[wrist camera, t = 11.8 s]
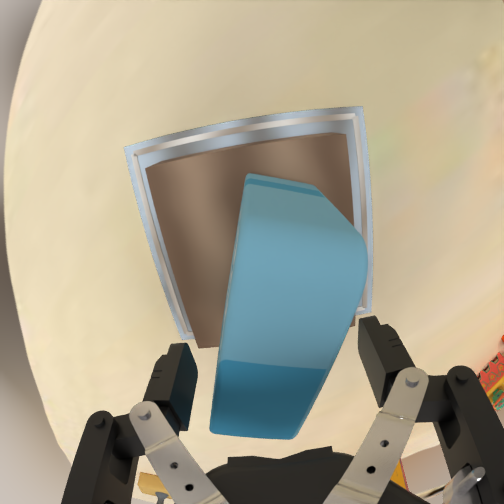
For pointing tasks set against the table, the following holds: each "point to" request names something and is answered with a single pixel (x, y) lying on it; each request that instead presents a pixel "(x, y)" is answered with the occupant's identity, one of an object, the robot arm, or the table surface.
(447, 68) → the table surface
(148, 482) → the rubber stamp
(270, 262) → the data package
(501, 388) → the toy building block set
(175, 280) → the base
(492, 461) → the robot arm
